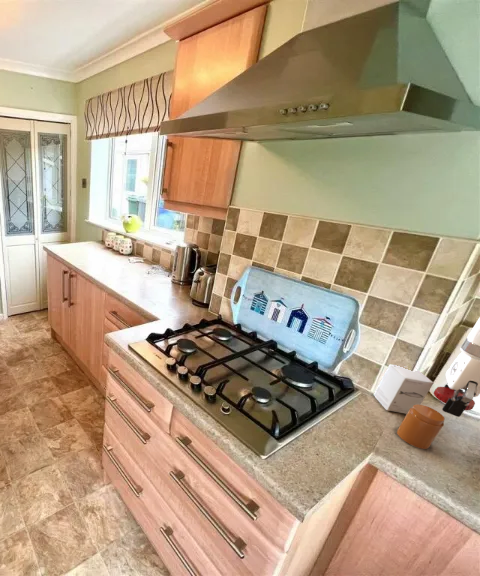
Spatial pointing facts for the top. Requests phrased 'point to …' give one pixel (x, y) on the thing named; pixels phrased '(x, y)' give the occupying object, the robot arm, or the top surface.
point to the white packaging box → (402, 389)
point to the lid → (449, 396)
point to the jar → (421, 426)
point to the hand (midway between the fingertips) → (448, 405)
